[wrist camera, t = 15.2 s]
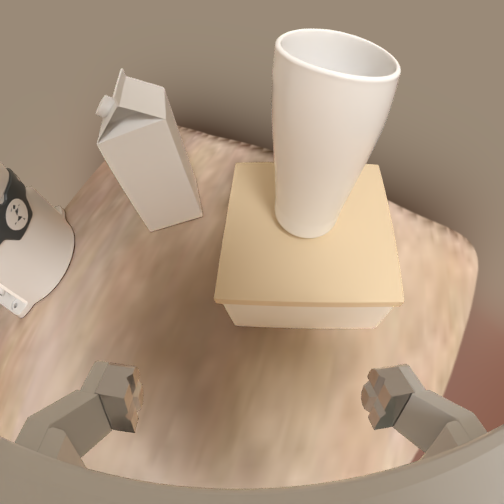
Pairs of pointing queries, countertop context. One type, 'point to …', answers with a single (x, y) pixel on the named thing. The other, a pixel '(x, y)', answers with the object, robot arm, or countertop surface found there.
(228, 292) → the painted box
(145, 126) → the milk carton
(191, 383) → the countertop surface
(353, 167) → the white ceramic cup
